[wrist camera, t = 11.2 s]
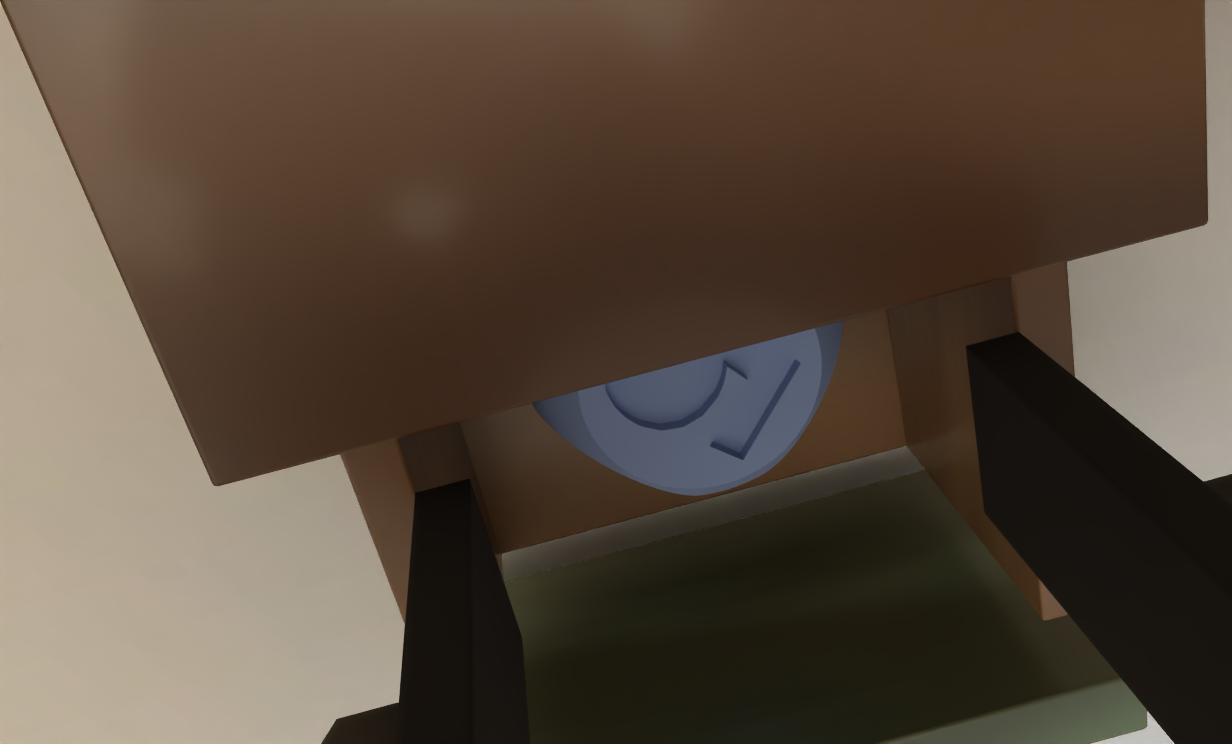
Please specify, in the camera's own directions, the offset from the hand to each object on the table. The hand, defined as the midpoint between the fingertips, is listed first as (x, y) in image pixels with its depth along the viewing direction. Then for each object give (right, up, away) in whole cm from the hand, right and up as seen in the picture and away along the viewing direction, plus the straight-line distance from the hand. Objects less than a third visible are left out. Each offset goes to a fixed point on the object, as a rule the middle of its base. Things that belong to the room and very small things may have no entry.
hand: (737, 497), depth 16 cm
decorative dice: (-1, +3, +5) cm, 6 cm away
